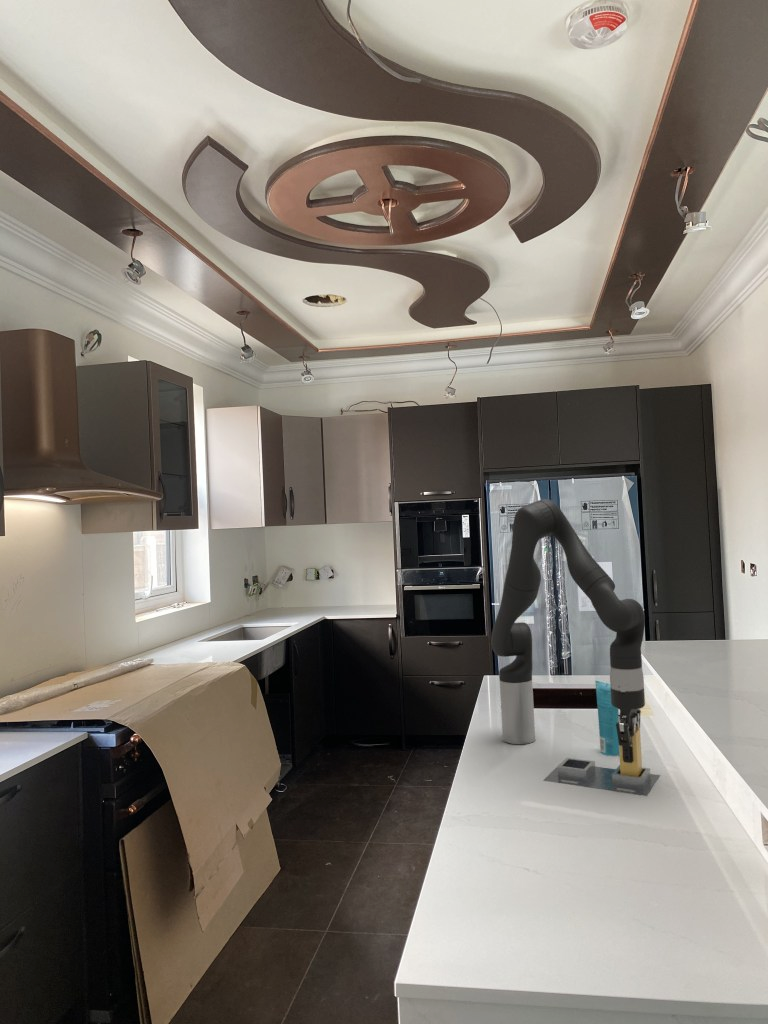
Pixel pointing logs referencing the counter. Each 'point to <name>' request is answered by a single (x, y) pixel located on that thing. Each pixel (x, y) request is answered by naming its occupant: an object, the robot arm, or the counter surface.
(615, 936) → the counter surface
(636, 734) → the plug
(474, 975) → the counter surface
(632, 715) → the robot arm
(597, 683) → the tube
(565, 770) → the panel
